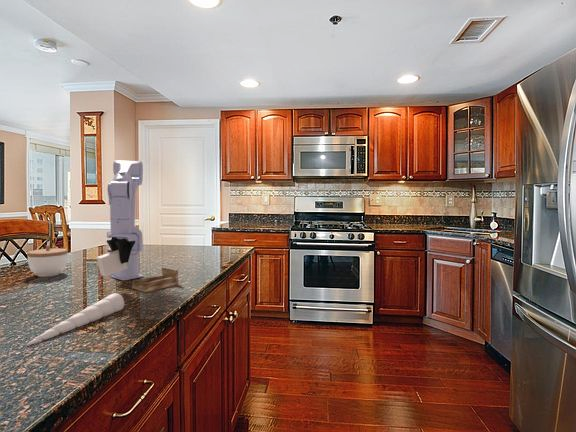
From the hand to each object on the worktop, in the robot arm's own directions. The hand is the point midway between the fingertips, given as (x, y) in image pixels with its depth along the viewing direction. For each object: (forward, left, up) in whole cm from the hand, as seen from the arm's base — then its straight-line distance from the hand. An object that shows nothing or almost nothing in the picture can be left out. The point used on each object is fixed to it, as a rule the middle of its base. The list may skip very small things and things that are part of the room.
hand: (121, 261), depth 108 cm
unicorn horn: (+22, -21, -10) cm, 32 cm away
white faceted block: (0, -2, -3) cm, 4 cm away
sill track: (+5, +9, -9) cm, 13 cm away
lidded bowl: (-42, -6, -9) cm, 44 cm away
